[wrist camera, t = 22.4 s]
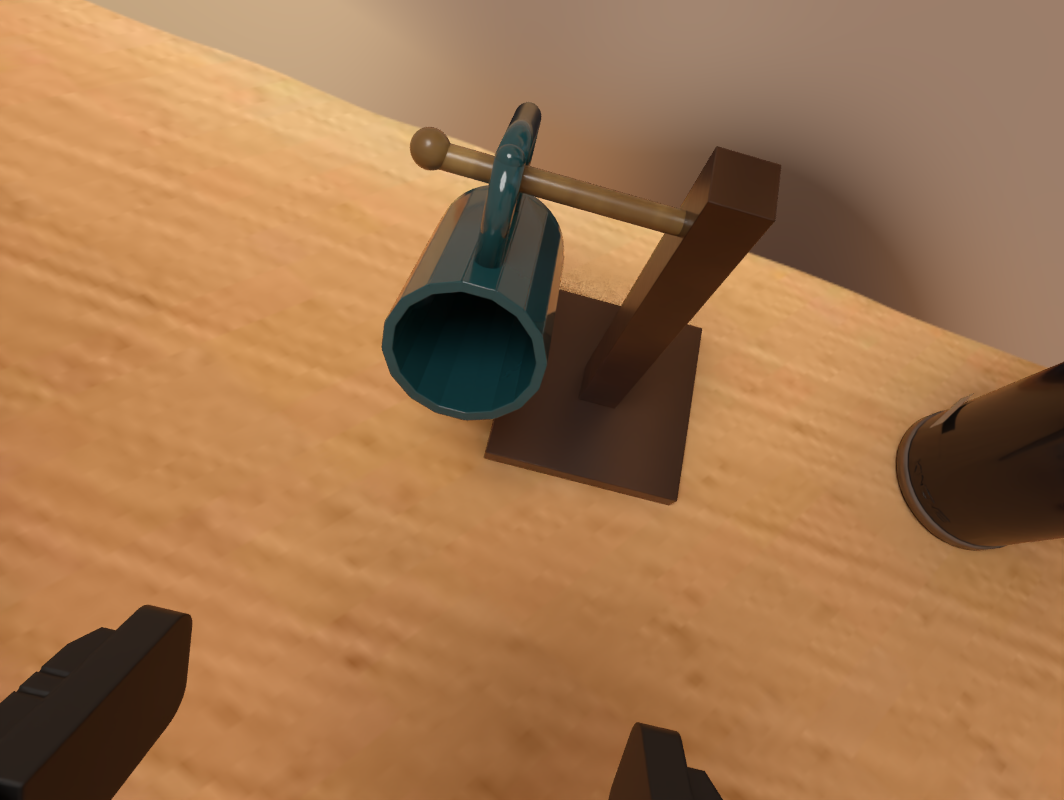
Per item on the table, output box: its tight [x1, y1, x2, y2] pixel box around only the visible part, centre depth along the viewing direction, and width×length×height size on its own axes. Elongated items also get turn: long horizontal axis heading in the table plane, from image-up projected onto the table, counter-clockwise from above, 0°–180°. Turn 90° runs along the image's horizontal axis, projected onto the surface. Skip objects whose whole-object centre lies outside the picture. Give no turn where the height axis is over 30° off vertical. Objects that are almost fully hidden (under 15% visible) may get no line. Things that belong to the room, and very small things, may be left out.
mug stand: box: [410, 127, 781, 505], centre depth 32 cm, size 18×12×22 cm
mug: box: [382, 102, 564, 420], centre depth 28 cm, size 11×6×10 cm
